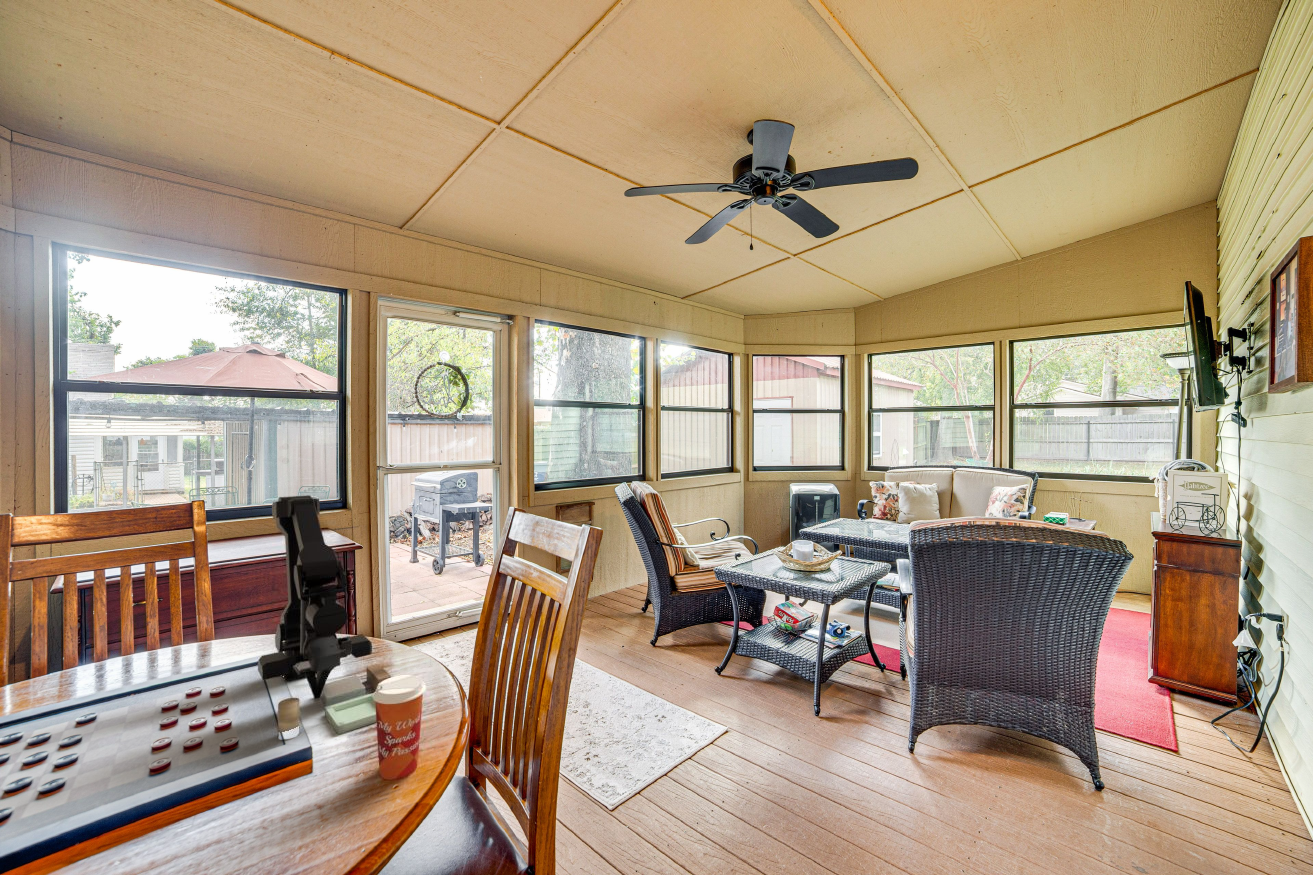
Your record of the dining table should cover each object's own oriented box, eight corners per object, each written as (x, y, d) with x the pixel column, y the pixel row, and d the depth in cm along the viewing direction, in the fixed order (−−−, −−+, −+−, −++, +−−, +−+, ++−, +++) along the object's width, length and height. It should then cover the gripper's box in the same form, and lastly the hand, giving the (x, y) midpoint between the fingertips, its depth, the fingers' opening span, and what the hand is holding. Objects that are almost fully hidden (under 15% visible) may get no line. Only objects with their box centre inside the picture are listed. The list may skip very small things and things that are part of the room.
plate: (317, 697, 115) (317, 685, 115) (355, 687, 119) (355, 675, 119) (326, 711, 110) (326, 698, 110) (365, 699, 114) (365, 687, 114)
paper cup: (372, 789, 86) (373, 699, 86) (371, 762, 93) (372, 678, 93) (427, 775, 90) (428, 689, 89) (423, 750, 97) (423, 669, 96)
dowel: (276, 734, 100) (276, 701, 100) (297, 728, 103) (297, 695, 103) (279, 742, 98) (280, 708, 98) (301, 735, 100) (301, 702, 100)
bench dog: (366, 680, 122) (366, 666, 122) (378, 677, 123) (378, 663, 123) (378, 693, 116) (378, 679, 116) (391, 690, 118) (391, 676, 118)
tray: (324, 714, 107) (324, 707, 107) (375, 699, 114) (375, 692, 114) (338, 734, 101) (338, 726, 101) (390, 717, 107) (390, 709, 107)
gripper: (268, 643, 99) (267, 731, 99) (381, 620, 112) (380, 698, 112) (257, 626, 107) (257, 707, 108) (364, 606, 120) (363, 679, 120)
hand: (316, 697), depth 112 cm, fingers closed
